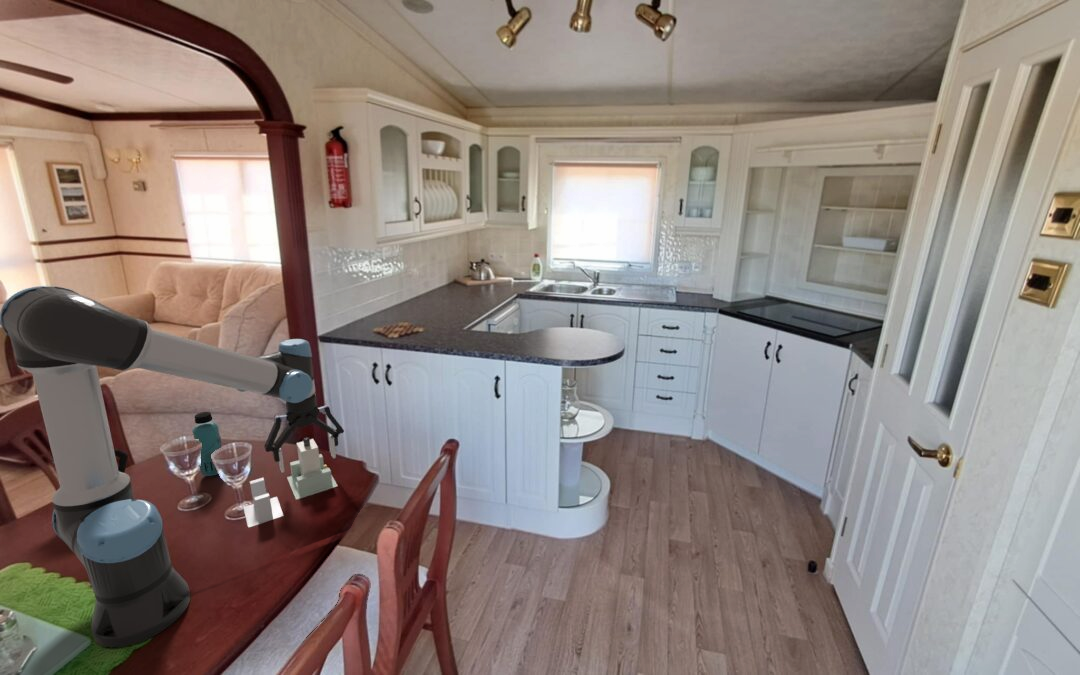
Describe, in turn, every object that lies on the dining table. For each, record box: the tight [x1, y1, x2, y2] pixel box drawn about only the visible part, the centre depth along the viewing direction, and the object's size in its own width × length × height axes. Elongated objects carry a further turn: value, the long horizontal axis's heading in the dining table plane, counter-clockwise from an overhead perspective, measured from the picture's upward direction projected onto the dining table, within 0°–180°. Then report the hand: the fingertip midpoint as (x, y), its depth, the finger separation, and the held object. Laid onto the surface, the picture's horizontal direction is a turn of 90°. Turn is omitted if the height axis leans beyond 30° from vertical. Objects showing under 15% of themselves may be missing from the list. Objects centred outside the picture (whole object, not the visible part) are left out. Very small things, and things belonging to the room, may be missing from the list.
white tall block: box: [296, 437, 321, 476], centre depth 136 cm, size 6×4×14 cm
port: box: [286, 453, 338, 501], centre depth 137 cm, size 13×11×6 cm
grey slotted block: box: [243, 477, 284, 529], centre depth 124 cm, size 10×8×8 cm
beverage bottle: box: [191, 411, 223, 477], centre depth 139 cm, size 6×7×20 cm
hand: (308, 463), depth 136 cm, fingers open, 13 cm apart
